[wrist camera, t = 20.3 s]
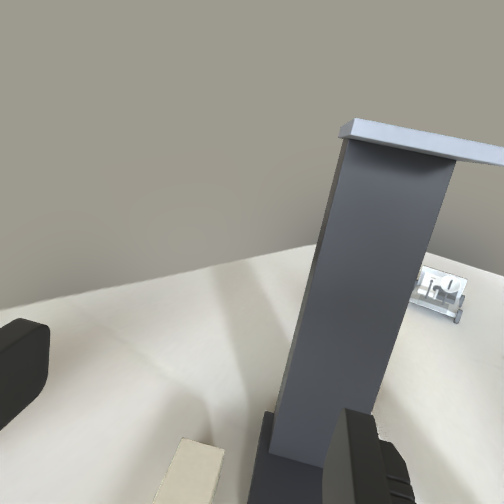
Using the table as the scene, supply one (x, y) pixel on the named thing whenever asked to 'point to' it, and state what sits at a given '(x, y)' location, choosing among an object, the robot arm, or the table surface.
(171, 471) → the cream rectangular bar
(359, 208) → the dark grey pillar
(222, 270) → the table surface
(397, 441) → the table surface
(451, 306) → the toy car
